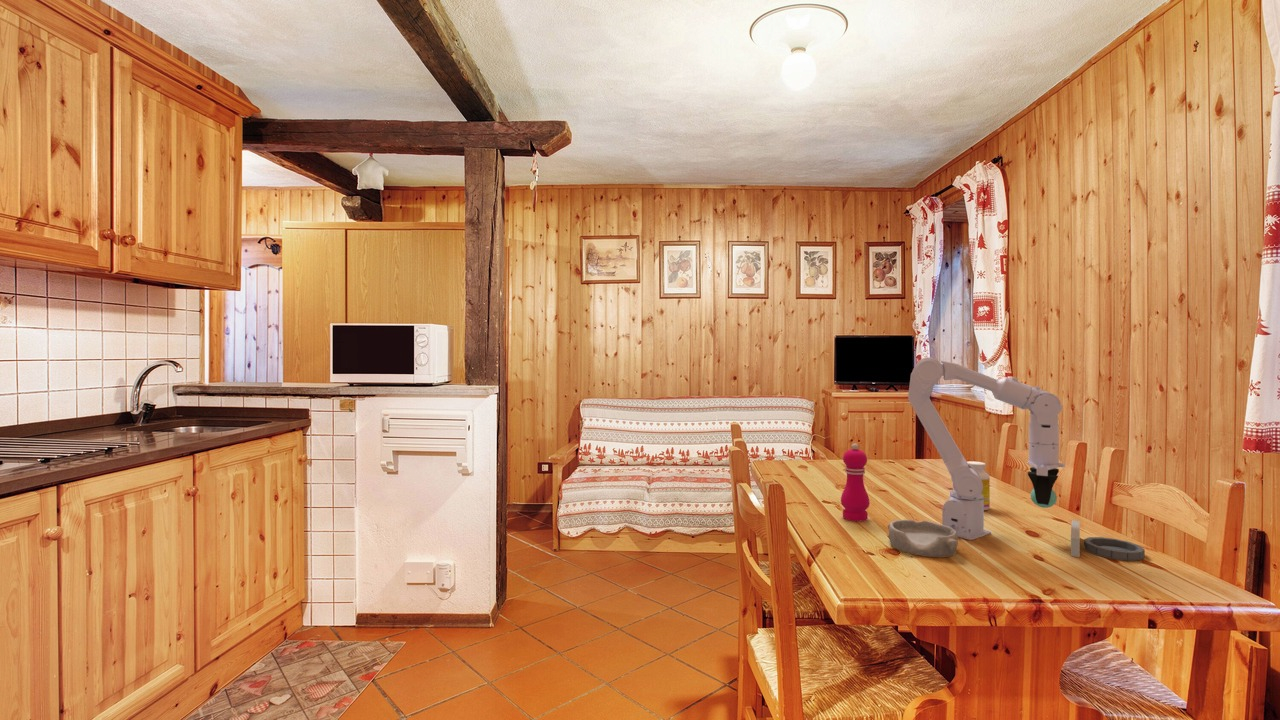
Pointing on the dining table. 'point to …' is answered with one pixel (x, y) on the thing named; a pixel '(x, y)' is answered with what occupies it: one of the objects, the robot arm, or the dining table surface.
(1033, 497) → the ball
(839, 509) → the dining table surface
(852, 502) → the pepper mill
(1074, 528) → the acrylic wall
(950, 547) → the dish
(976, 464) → the supplement bottle
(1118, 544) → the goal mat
